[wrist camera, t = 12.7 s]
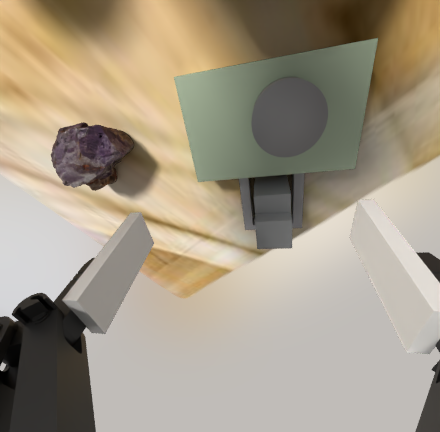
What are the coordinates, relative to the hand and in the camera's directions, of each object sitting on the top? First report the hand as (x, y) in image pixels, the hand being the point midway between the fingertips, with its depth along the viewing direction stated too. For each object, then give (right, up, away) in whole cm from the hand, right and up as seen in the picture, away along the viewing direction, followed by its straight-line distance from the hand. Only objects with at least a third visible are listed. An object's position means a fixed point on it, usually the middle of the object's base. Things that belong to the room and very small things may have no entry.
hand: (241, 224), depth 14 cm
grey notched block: (+8, +5, +25) cm, 27 cm away
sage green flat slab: (+7, +10, +22) cm, 25 cm away
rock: (-21, +13, +26) cm, 36 cm away
